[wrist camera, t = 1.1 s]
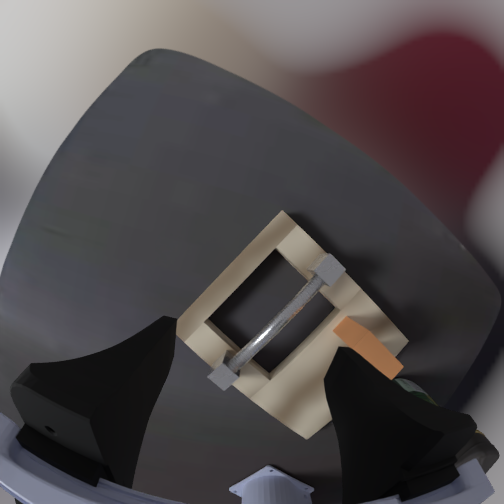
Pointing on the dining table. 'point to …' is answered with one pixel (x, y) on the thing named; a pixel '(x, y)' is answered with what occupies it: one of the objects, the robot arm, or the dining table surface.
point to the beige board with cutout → (308, 352)
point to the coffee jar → (476, 445)
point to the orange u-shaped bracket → (368, 347)
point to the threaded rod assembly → (276, 321)
